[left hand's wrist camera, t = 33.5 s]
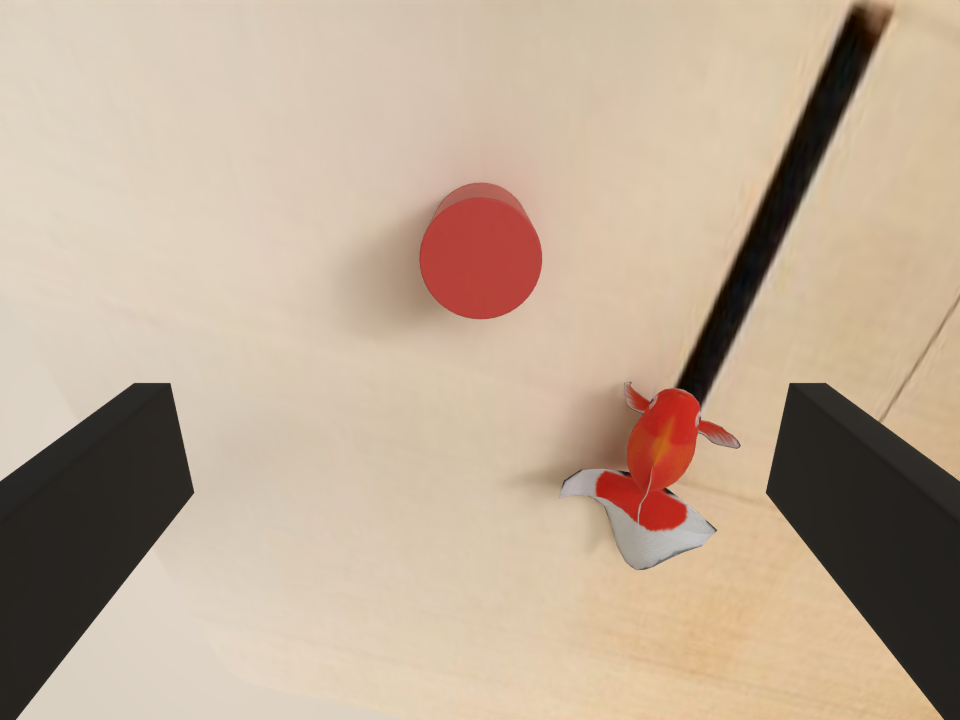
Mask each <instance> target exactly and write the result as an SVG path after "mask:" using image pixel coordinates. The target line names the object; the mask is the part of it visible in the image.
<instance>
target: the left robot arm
mask: <svg viewBox="0 0 960 720" xmlns="http://www.w3.org/2000/svg"><path fill="white" fill-rule="evenodd" d="M193 494H194V490H193V485H192V480H191V476H190V471H189V467H188V462H187V457H186V453H185V448H184V444H183V439H182V434H181V430H180V425H179V421H178V416H177V412H176V407H175V402H174V398H173V393H172V389H171V384H170V383H134V384H132V385H131V386H130V387H128V388H127V389H126V390H124V391H123V392H121V393H120V394H119V395H117V396H116V397H115V398H113V399H112V400H111V401H109V402H108V403H106V404H105V405H104V406H102V407H101V408H100V409H98V410H97V411H96V412H94V413H93V414H91V415H90V416H89V417H87V418H86V419H85V420H83V421H82V422H81V423H79V424H78V425H76V426H75V427H74V428H72V429H71V430H70V431H68V432H67V433H66V434H64V435H63V436H61V437H60V438H59V439H57V440H56V441H55V442H53V443H52V444H51V445H49V446H48V447H47V448H45V449H44V450H42V451H41V452H40V453H38V454H37V455H36V456H34V457H33V458H31V459H30V460H29V461H27V462H26V463H25V464H23V465H22V466H21V467H19V468H18V469H16V470H15V471H14V472H12V473H11V474H10V475H8V476H7V477H6V478H4V479H3V480H1V481H0V720H16V719H17V718H18V716H19V715H20V714H21V712H22V711H23V710H24V709H25V707H26V706H27V705H28V704H29V702H30V701H31V700H32V699H33V697H34V696H35V695H36V693H37V692H38V691H39V690H40V688H41V687H42V686H43V685H44V683H45V682H46V681H47V679H48V678H49V677H50V676H51V674H52V673H53V672H54V670H55V669H56V668H57V667H58V665H59V664H60V663H61V662H62V660H63V659H64V658H65V657H66V655H67V654H68V653H69V651H70V650H71V649H72V648H73V646H74V645H75V644H76V642H77V641H78V640H79V639H80V637H81V636H82V635H83V634H84V632H85V631H86V630H87V629H88V627H89V626H90V625H91V623H92V622H93V621H94V620H95V618H96V617H97V616H98V615H99V613H100V612H101V611H102V609H103V608H104V607H105V606H106V604H107V603H108V602H109V600H110V599H111V598H112V597H113V595H114V594H115V593H116V592H117V590H118V589H119V588H120V587H121V585H122V584H123V583H124V581H125V580H126V579H127V578H128V576H129V575H130V574H131V573H132V571H133V570H134V569H135V568H136V566H137V565H138V564H139V562H140V561H141V560H142V559H143V557H144V556H145V555H146V554H147V552H148V551H149V550H150V548H151V547H152V546H153V545H154V543H155V542H156V541H157V540H158V538H159V537H160V536H161V534H162V533H163V532H164V531H165V529H166V528H167V527H168V526H169V524H170V523H171V522H172V520H173V519H174V518H175V517H176V515H177V514H178V513H179V512H180V510H181V509H182V508H183V506H184V505H185V504H186V503H187V501H188V500H189V499H190V498H191V496H192V495H193ZM766 494H767V495H768V496H769V498H770V499H771V500H772V501H773V503H774V504H775V505H776V506H777V508H778V509H779V510H780V512H781V513H782V514H783V515H784V517H785V518H786V519H787V520H788V522H789V523H790V524H791V526H792V527H793V528H794V529H795V531H796V532H797V533H798V534H799V536H800V537H801V538H802V540H803V541H804V542H805V543H806V545H807V546H808V547H809V548H810V550H811V551H812V552H813V554H814V555H815V556H816V557H817V559H818V560H819V561H820V562H821V564H822V565H823V566H824V568H825V569H826V570H827V571H828V573H829V574H830V575H831V576H832V578H833V579H834V580H835V582H836V583H837V584H838V585H839V587H840V588H841V589H842V590H843V592H844V593H845V594H846V595H847V597H848V598H849V599H850V601H851V602H852V603H853V604H854V606H855V607H856V608H857V609H858V611H859V612H860V613H861V615H862V616H863V617H864V618H865V620H866V621H867V622H868V623H869V625H870V626H871V627H872V629H873V630H874V631H875V632H876V634H877V635H878V636H879V637H880V639H881V640H882V641H883V643H884V644H885V645H886V646H887V648H888V649H889V650H890V651H891V653H892V654H893V655H894V657H895V658H896V659H897V660H898V662H899V663H900V664H901V665H902V667H903V668H904V669H905V671H906V672H907V673H908V674H909V676H910V677H911V678H912V679H913V681H914V682H915V683H916V685H917V686H918V687H919V688H920V690H921V691H922V692H923V693H924V695H925V696H926V697H927V699H928V700H929V701H930V702H931V704H932V705H933V706H934V707H935V709H936V710H937V711H938V712H939V714H940V715H941V716H942V718H943V719H944V720H960V481H959V480H957V479H956V478H954V477H953V476H952V475H950V474H949V473H948V472H946V471H945V470H944V469H942V468H941V467H939V466H938V465H937V464H935V463H934V462H933V461H931V460H930V459H929V458H927V457H926V456H924V455H923V454H922V453H920V452H919V451H918V450H916V449H915V448H914V447H912V446H911V445H909V444H908V443H907V442H905V441H904V440H903V439H901V438H900V437H899V436H897V435H896V434H894V433H893V432H892V431H890V430H889V429H888V428H886V427H885V426H884V425H882V424H881V423H879V422H878V421H877V420H875V419H874V418H873V417H871V416H870V415H869V414H867V413H866V412H864V411H863V410H862V409H860V408H859V407H858V406H856V405H855V404H854V403H852V402H851V401H849V400H848V399H847V398H845V397H844V396H843V395H841V394H840V393H839V392H837V391H836V390H834V389H833V388H832V387H830V386H829V385H828V384H826V383H790V384H789V389H788V393H787V398H786V402H785V407H784V412H783V416H782V421H781V425H780V430H779V434H778V439H777V444H776V448H775V453H774V457H773V462H772V467H771V471H770V476H769V480H768V485H767V490H766Z"/></svg>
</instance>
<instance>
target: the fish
mask: <svg viewBox="0 0 960 720" xmlns="http://www.w3.org/2000/svg"><path fill="white" fill-rule="evenodd" d="M630 384H631V382H627V383H625V384H624V394H625V398H626V402H627V404H628V406H629V408H631V409H633V410H635V411H637V412H639V413H642V414H643V416H642V417H641V418H640V419H639V421H638V422H637V424H636V425H635V427H634V429H633V431H632V433H631V435H630V439H629V443H628V448H627V463H628V467H629V471H630V473H629V472H624V471H617V470H610V469H585V470H580V471H578V472H577V473H575V474H574V475H572V476H570V477H569V478H567V479H566V480H564V482H563V486H562V489H561V492H560V495H559V498H561V497H565V496H574V495H585V496H589V497H592V498H594V499H595V500H597V501H598V502H600V503H601V504H603V505H604V506H605V509H606V511H607V514H608V517H609V519H610V522H611V525H612V529H613V533H614V537H615V541H616V544H617V547H618V549H619V551H620V553H621V555H622V556H623V558H624V560H625V562H626V563H627V564H629V565H630V566H631V567H632V568H634V569H636V570H645V569H648V568H651V567H654V566H656V565H658V564H659V563H661V562H663V561H665V560H667V559H670V558H672V557H674V556H676V555H678V554H680V553H683V552H685V551H688V550H691V549H694V548H697V547H701V546H702V545H703V544H704V543H705V542H706V541H707V540H708V539H709V538H710V537H711V535H712V534H714V533H715V532H716V531H717V530H716V529H715V528H714V527H713V526H712V525H711V524H710V523H709V522H707V521H706V520H705V519H704V518H703V517H702V516H701V515H700V514H699V513H698V512H696V511H695V510H694V509H693V508H691V507H690V506H689V505H688V504H686V503H685V502H684V501H682V500H681V499H680V498H679V497H677V496H676V495H675V494H673V493H672V492H671V491H669V490H668V489H667V488H666V487H668V486H670V485H671V484H673V483H675V482H676V481H677V480H678V479H679V478H680V477H681V476H682V475H683V474H684V472H685V471H686V469H687V468H688V466H689V464H690V462H691V460H692V458H693V455H694V451H695V445H696V437H697V434H698V433H700V434H703V435H704V436H705V437H707V438H708V439H709V440H710V441H711V442H712V443H714V444H717V445H721V446H726V447H731V448H736V449H737V448H739V447H740V446H741V445H740V444H739V442H738V440H737V439H736V438H735V437H734V436H733V435H731V434H730V433H728V432H726V431H725V430H724V429H723V428H722V427H720V426H718V425H716V424H714V423H711V422H708V421H703V420H701V413H700V406H699V403H698V401H697V400H696V399H695V398H694V397H693V395H692V394H690V393H688V392H686V391H685V390H681V389H676V388H672V389H665V390H663V391H661V392H659V393H658V394H657V395H656V396H655V397H654V398H653V399H652V400H651V402H650V401H648V400H646V399H645V398H643V397H642V396H641V395H640V394H639V393H637V392H636V391H635V390H633V389H632V388H631V386H630Z"/></svg>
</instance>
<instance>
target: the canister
mask: <svg viewBox="0 0 960 720" xmlns="http://www.w3.org/2000/svg"><path fill="white" fill-rule="evenodd" d="M541 266H542V250H541V245H540V241H539V238H538V235H537V233H536V231H535V229H534V227H533V225H532V223H531V222H530V220H529V218H528V216H527V214H526V212H525V211H524V209H523V207H522V206H521V204H520V203H519V201H518V200H517V199H516V198H515V197H514V196H513V195H512V194H511V193H509V192H508V191H507V190H505V189H503V188H501V187H499V186H496V185H493V184H489V183H473V184H468V185H465V186H462V187H460V188H458V189H456V190H455V191H453V192H452V193H450V194H449V195H448V196H447V197H446V198H445V199H444V201H443V202H442V203H441V205H440V206H439V208H438V209H437V211H436V213H435V215H434V217H433V219H432V221H431V223H430V225H429V226H428V228H427V230H426V232H425V235H424V237H423V240H422V243H421V248H420V269H421V273H422V277H423V279H424V282H425V284H426V286H427V288H428V290H429V291H430V293H431V294H432V296H433V297H434V298H435V299H436V300H437V301H438V302H439V303H440V304H441V305H442V306H443V307H445V308H446V309H448V310H449V311H451V312H453V313H455V314H457V315H460V316H463V317H467V318H472V319H489V318H495V317H498V316H502V315H504V314H506V313H509V312H511V311H512V310H514V309H515V308H517V307H518V306H519V305H521V304H522V303H523V302H524V301H525V300H526V299H527V298H528V296H529V295H530V294H531V292H532V291H533V289H534V287H535V286H536V284H537V281H538V279H539V276H540V272H541Z"/></svg>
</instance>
